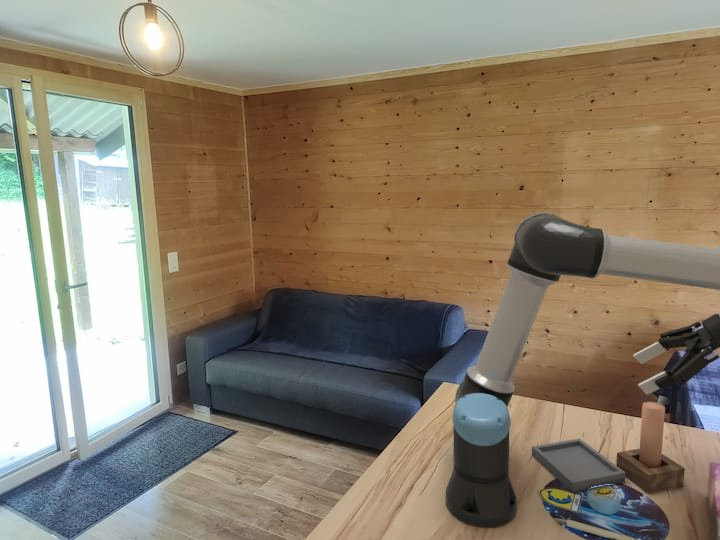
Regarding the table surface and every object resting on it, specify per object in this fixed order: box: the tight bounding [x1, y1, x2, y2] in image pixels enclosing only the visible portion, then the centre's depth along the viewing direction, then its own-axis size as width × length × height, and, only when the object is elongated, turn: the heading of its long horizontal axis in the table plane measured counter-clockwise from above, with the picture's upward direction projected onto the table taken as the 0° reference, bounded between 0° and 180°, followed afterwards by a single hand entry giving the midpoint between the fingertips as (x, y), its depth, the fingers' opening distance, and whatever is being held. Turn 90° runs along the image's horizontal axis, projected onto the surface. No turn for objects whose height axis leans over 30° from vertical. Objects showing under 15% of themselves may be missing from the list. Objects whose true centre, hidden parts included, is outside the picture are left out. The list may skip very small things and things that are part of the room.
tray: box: [531, 438, 626, 494], centre depth 118 cm, size 14×16×2 cm
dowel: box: [639, 401, 666, 469], centre depth 112 cm, size 4×4×18 cm
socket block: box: [615, 448, 686, 494], centre depth 113 cm, size 10×10×4 cm
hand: (639, 373), depth 114 cm, fingers open, 13 cm apart
